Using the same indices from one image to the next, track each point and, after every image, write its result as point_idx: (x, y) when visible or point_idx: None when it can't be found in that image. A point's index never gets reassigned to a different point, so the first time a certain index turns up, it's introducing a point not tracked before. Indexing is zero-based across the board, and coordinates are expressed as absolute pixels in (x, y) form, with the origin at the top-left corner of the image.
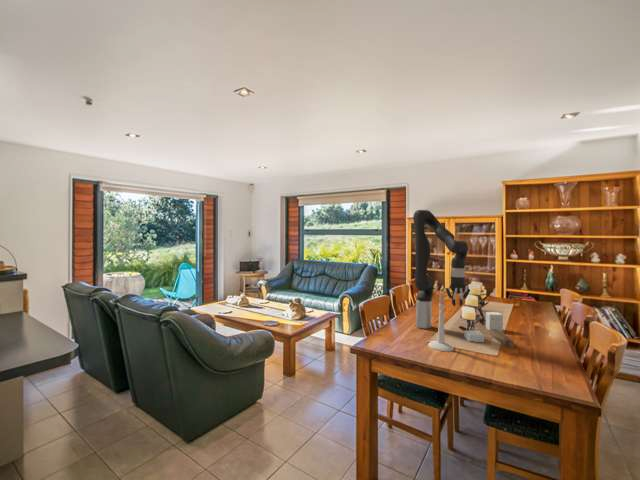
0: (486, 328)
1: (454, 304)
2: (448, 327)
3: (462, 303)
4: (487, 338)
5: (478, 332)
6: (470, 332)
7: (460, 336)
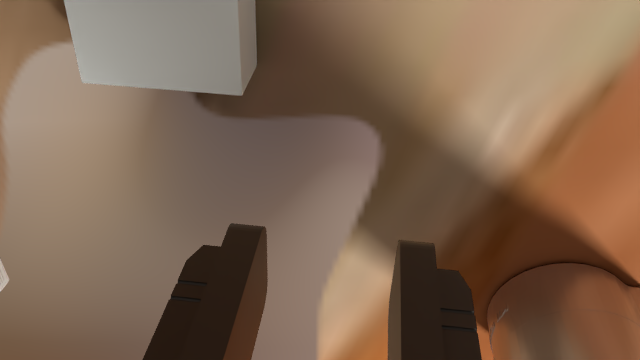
0: (5, 270)
1: (423, 263)
2: (323, 295)
3: (184, 277)
4: (29, 22)
5: (94, 28)
6: (190, 20)
7: (296, 67)
